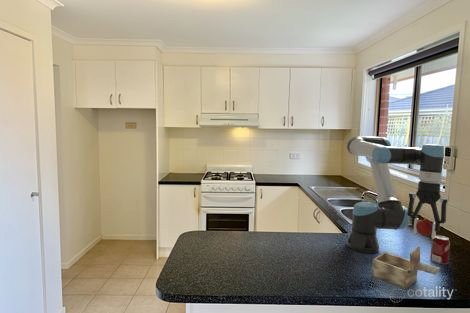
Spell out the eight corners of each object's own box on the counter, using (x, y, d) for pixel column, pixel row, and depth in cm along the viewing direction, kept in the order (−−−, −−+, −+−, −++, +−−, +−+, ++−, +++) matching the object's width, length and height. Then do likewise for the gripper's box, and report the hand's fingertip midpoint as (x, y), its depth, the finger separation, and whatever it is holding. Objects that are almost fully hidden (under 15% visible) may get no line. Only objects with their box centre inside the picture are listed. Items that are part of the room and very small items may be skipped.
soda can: (440, 266, 126) (443, 240, 125) (426, 259, 133) (429, 235, 132) (451, 264, 128) (454, 239, 127) (437, 258, 134) (439, 234, 133)
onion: (425, 233, 120) (427, 215, 119) (435, 239, 114) (438, 220, 114) (412, 233, 120) (414, 215, 119) (422, 238, 114) (424, 219, 113)
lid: (410, 253, 105) (434, 258, 100) (418, 246, 112) (441, 251, 106) (410, 271, 106) (434, 278, 100) (418, 263, 112) (441, 269, 106)
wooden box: (371, 275, 115) (373, 258, 115) (383, 266, 123) (384, 250, 123) (408, 290, 105) (409, 271, 105) (418, 279, 113) (419, 262, 113)
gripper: (401, 178, 119) (396, 231, 122) (456, 186, 106) (449, 245, 108) (406, 177, 124) (402, 227, 127) (460, 184, 111) (453, 240, 113)
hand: (424, 235), depth 117 cm, fingers closed on onion, 6 cm apart
